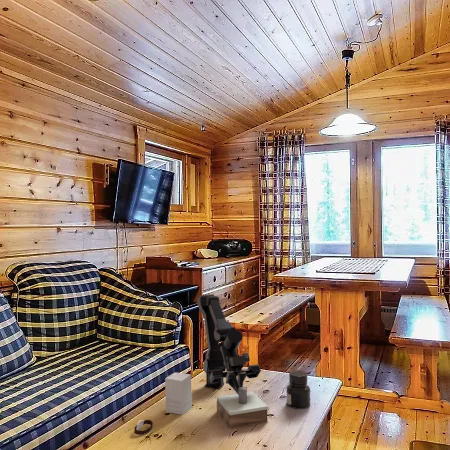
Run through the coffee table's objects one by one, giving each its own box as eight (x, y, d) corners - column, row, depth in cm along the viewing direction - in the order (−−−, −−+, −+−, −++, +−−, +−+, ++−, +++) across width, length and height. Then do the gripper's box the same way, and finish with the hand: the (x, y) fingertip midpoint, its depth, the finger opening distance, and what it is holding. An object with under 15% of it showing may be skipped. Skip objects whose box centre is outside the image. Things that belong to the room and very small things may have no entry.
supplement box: (192, 407, 171) (191, 374, 170) (182, 415, 164) (182, 380, 164) (175, 404, 174) (175, 371, 173) (165, 412, 167) (164, 378, 167)
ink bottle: (291, 398, 179) (291, 367, 178) (313, 401, 175) (313, 371, 175) (283, 407, 170) (282, 375, 170) (306, 411, 166) (305, 379, 166)
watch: (145, 425, 157) (145, 414, 157) (156, 428, 155) (156, 417, 155) (130, 434, 150) (130, 423, 150) (141, 437, 148) (141, 426, 148)
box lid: (217, 399, 166) (217, 383, 166) (252, 394, 171) (252, 378, 171) (229, 415, 153) (229, 397, 153) (267, 409, 158) (267, 392, 157)
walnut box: (216, 411, 167) (216, 399, 167) (252, 406, 171) (252, 394, 171) (229, 428, 154) (229, 415, 153) (267, 422, 158) (267, 409, 158)
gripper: (211, 348, 164) (221, 389, 154) (258, 343, 170) (271, 382, 160) (205, 363, 172) (214, 403, 162) (251, 357, 178) (262, 396, 168)
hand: (241, 396), depth 163 cm, fingers closed, pressing on box lid
